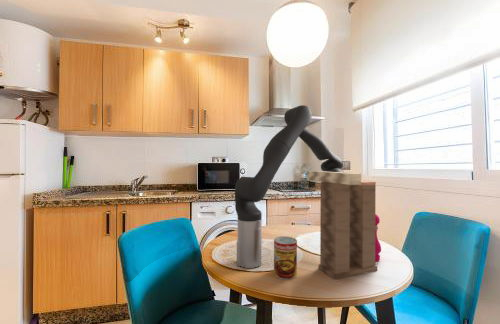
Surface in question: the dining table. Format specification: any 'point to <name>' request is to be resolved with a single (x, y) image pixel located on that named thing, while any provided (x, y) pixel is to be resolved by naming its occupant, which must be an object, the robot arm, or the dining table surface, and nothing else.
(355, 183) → the birch bar
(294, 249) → the canned food
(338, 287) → the dining table surface
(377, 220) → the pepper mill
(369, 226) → the walnut rack
